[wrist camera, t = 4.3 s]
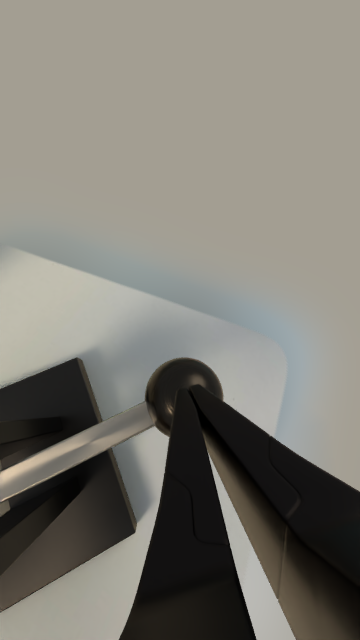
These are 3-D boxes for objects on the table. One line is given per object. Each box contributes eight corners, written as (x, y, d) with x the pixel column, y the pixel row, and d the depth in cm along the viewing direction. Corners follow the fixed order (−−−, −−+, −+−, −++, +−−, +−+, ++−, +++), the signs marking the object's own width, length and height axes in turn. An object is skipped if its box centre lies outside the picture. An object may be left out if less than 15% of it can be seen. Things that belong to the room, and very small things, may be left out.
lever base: (82, 359, 19) (9, 317, 10) (137, 524, 16) (103, 685, 7) (-40, 410, 17) (-265, 414, 8) (-7, 608, 14) (-328, 991, 5)
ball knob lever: (196, 353, 14) (207, 336, 10) (226, 415, 13) (249, 418, 9) (-58, 469, 11) (-155, 497, 8) (-46, 558, 10) (-153, 636, 7)
